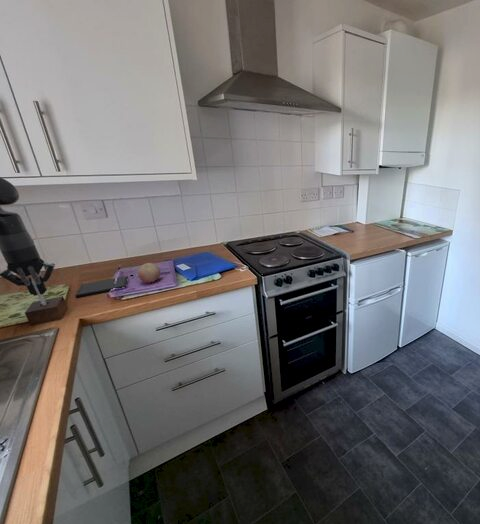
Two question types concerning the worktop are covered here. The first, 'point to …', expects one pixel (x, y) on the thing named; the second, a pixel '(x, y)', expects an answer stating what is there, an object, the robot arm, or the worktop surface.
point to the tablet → (100, 286)
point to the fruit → (149, 272)
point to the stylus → (39, 293)
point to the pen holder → (46, 310)
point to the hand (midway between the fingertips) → (39, 293)
